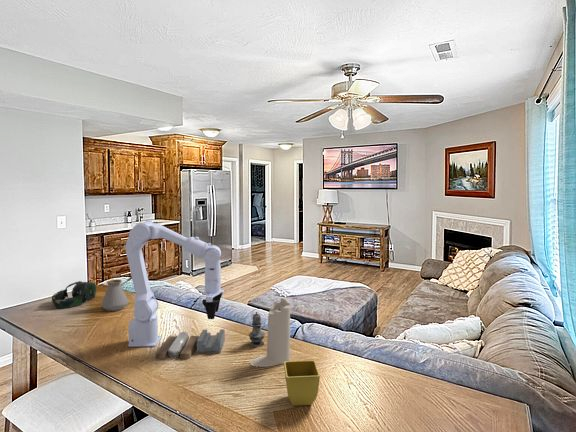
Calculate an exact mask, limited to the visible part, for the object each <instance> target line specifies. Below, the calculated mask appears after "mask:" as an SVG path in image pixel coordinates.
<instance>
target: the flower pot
mask: <svg viewBox="0 0 576 432" xmlns="http://www.w3.org/2000/svg"><path fill="white" fill-rule="evenodd" d="M283 368H284V377H285V379H284V380H285V384H286V390H287V396H288V399H289V402H290V403H291V405H292V406H293V407H294V406H295V407H297V406H311V405H313V404H314V403H315V401H316V399H317V396H318V393H319V387H320V378H321V373H320V372H319V369H318V366H317V363H316V360H313V359H307V360H289V361H285V362H284V364H283Z"/></svg>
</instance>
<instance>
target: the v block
mask: <svg viewBox="0 0 576 432" xmlns="http://www.w3.org/2000/svg"><path fill="white" fill-rule="evenodd" d="M198 336H199V338H198V340H197V346H196V353H197V354H221V352H222V349H223V347H224V343H225V340H226V331H225V328H224V329H221V328H220V329H219V331H218V332H217V333H216V335H215V334H213V335H212V333H211V332H208V329H202V330H201V333H200V334H199V335H198Z"/></svg>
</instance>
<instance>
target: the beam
mask: <svg viewBox="0 0 576 432" xmlns="http://www.w3.org/2000/svg"><path fill="white" fill-rule="evenodd" d="M177 336H178V335H169V336H168V337H167V338H166V340H165V341H164V342H163V344H162V345H161V346H160V347H159V349H158V350H157V352H156V353H155V354H156V355H155V359H156V360H165V359H167V358H168V357H169V355H168V350H169V348H170V347H171V345H172V344H173V342H174V341H175V339H176V338H177ZM199 336H200V335H190V336H189V339H188V341H187V343H186V344H185V346H184V348H183V350H182V351H181V353H180V355H179V356H180V360H187V358H189V359H190V358H191V357H192V355H193V353H194V351H195V349H196V348H197V340H198V338H199ZM189 359H188V360H189Z"/></svg>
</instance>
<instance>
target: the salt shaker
mask: <svg viewBox="0 0 576 432" xmlns="http://www.w3.org/2000/svg"><path fill="white" fill-rule="evenodd" d="M262 324H263V323H261V314H259V313H258V311H255V314H253V315H252V323H251V326H252V331H251V332H249V333H248V336H249V340H250V342H249V346H251V347H253V348H260V347H262V346H264V345H265V342H264V341H263V340H264V337H265V335H266V333H265V332H263V331H262Z"/></svg>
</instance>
